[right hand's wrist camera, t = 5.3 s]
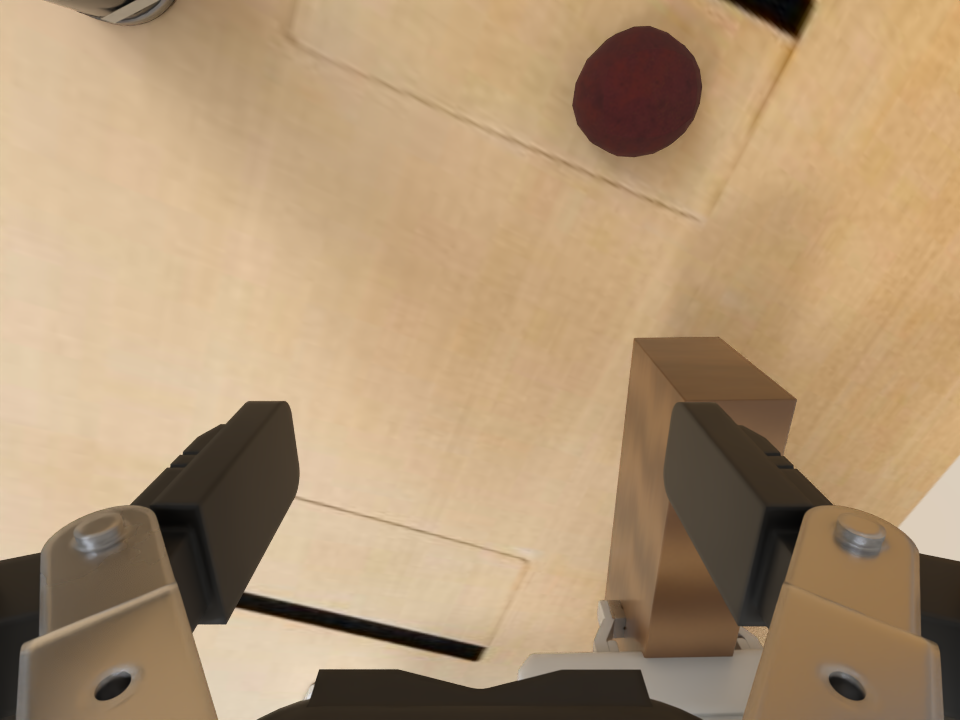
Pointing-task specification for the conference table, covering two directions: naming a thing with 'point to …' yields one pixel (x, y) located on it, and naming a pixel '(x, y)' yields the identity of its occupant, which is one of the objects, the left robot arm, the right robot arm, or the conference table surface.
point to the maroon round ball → (637, 92)
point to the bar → (647, 510)
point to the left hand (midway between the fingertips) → (656, 605)
